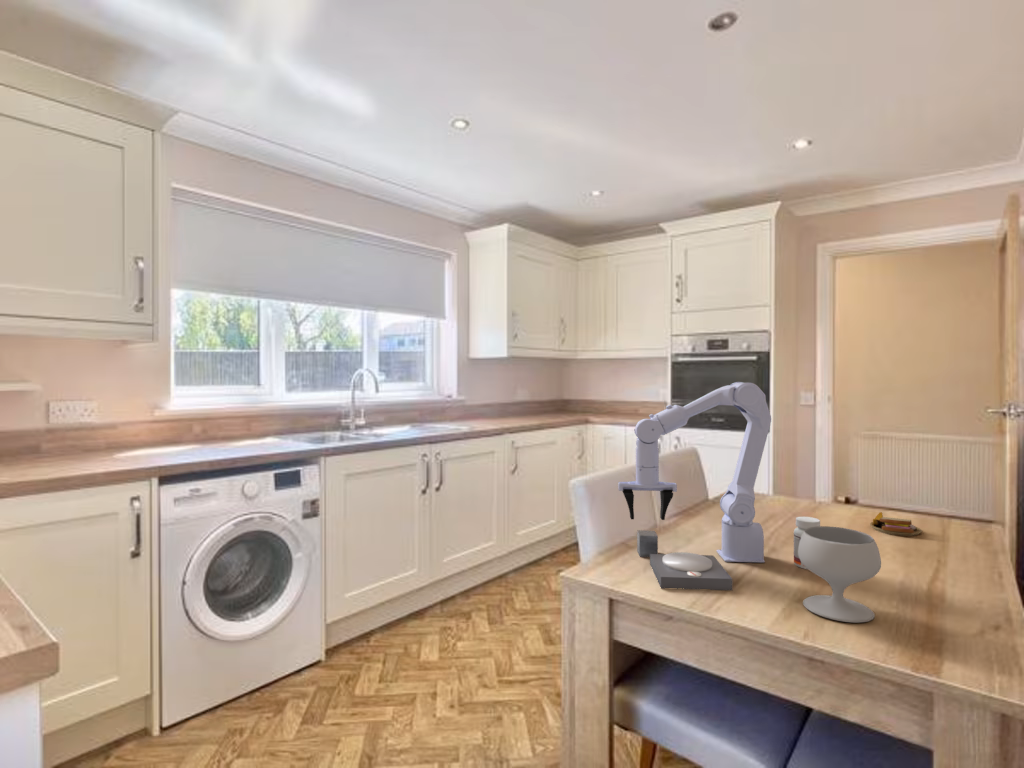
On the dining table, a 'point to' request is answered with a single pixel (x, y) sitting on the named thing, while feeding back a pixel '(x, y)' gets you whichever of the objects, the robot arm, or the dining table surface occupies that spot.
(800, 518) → the pill bottle
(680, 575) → the kitchen scale
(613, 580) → the dining table surface
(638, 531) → the block
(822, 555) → the chalice
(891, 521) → the toy sandwich meal
